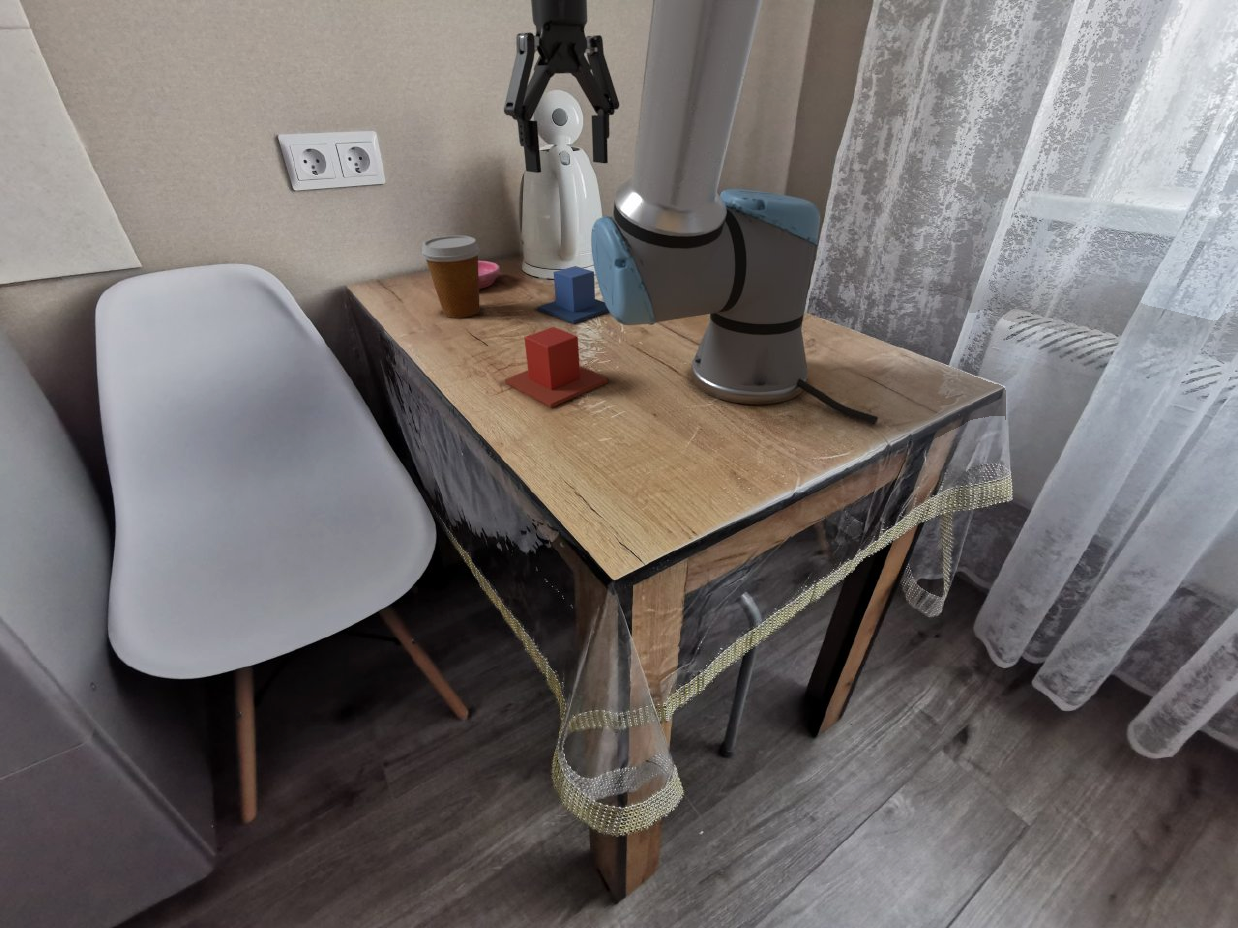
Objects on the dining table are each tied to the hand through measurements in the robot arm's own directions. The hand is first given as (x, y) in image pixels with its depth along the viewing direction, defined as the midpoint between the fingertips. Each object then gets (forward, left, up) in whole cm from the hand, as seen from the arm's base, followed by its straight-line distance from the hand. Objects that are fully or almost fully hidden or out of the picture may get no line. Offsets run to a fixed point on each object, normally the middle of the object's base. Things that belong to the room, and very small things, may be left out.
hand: (568, 167), depth 87 cm
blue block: (0, 0, -22) cm, 22 cm away
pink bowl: (+27, +5, -23) cm, 36 cm away
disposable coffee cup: (+14, +15, -23) cm, 31 cm away
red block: (-20, +21, -22) cm, 36 cm away
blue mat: (0, 0, -23) cm, 23 cm away
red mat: (-20, +21, -23) cm, 37 cm away
